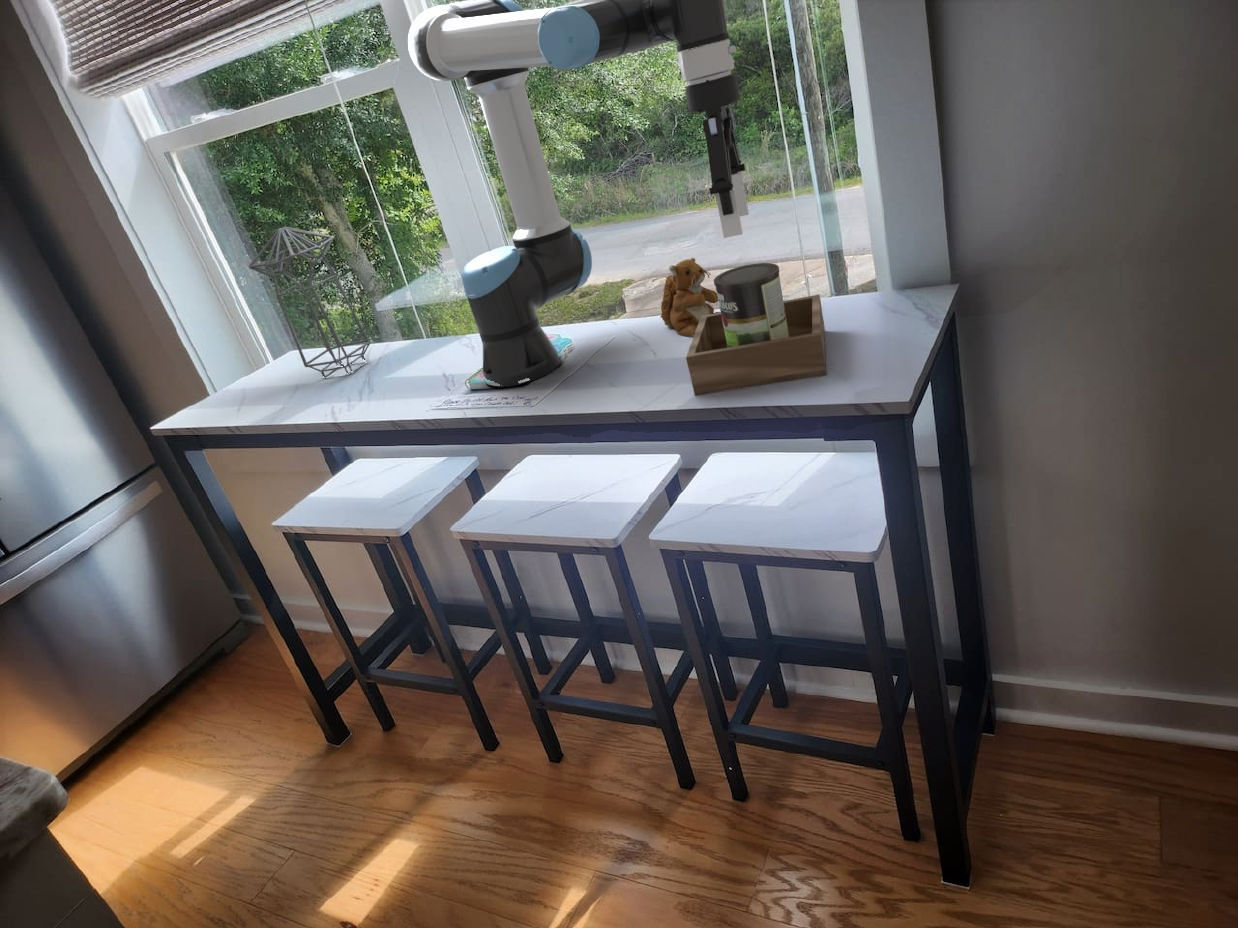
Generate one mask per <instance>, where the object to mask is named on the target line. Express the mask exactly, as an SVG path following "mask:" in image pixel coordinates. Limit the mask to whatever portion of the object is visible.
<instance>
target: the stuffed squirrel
mask: <svg viewBox="0 0 1238 928" xmlns="http://www.w3.org/2000/svg"><path fill="white" fill-rule="evenodd" d="M668 270H669V271H670V272H671V274H669V275H667V277H665V284H664V287H663V292H664V293H663V296H662V301H661V302H660V303H661V307H660V310H661V316H659V317H660V318H662V321H663V322H664V325H665V326H667V327H668V328H670V329H675V331H676V333H677V334H679V335H680V336H685V337H690V338H691V337H692V338H693V337H694V334H695V331H696V329H697V326H698V323H699V320H700V318H701V316H704V315H709V314H715V313H720V312H721V311H715V309H714V307H713V306H712V305H711V303H712V304H716V303H719V301H718V296H717V291H715V290H711V289H709V288H707V287H705V286H702V285H701V284H702V283H703V282H704V280H705V278H706V275H707V278H708V279H710V276H712V274H711V273H710V272H709V271H708V270H706V269H704V268H703V267H702V266H701V265H699V264H698V263H696V258H694V257H691V258H688V259H684V260H681V261H679V262H678V263H676V264H675V265H674V264H673V265H670V266H669V267H668ZM707 302H708V303H710V304H708V303H707ZM714 311H715V312H714Z"/></svg>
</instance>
